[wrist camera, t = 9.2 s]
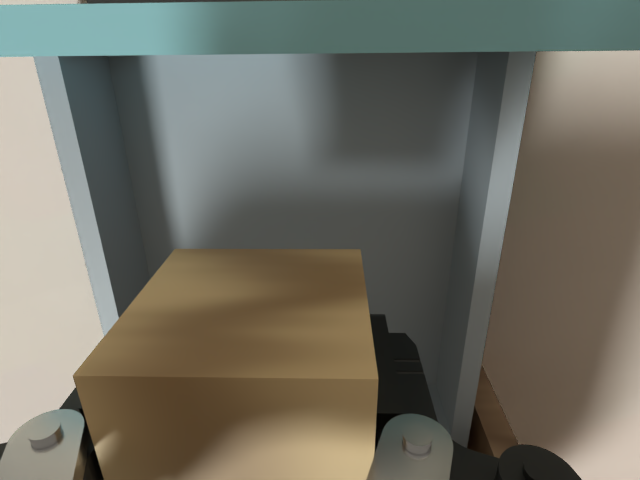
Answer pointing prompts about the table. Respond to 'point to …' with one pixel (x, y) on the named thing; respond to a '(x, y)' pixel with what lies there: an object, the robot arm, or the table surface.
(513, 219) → the table surface
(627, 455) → the table surface
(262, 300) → the oak block
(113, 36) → the drawer
